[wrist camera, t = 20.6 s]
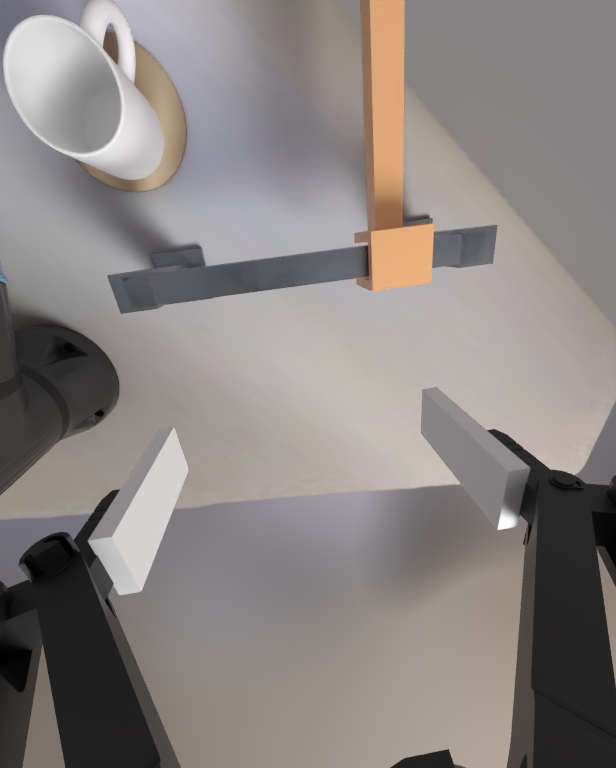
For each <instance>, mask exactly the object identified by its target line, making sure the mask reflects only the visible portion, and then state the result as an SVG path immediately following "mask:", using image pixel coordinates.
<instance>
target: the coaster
mask: <svg viewBox="0 0 616 768" xmlns="http://www.w3.org/2000/svg"><path fill="white" fill-rule="evenodd" d="M134 47H135V56H136V69H135V79H134V85H135V86H136V88H137V89H138V90H139V91H140V92H141V93H142V94H143V96H144V97H145V98H146V99H147V101H148V102H149V103H150V105H151V106H152V108H153V109H154V111H155V113H156V115H157V117H158V119H159V121H160V124H161V127H162V130H163V136H164V151H163V156H162V159H161V162H160V164H159V165H158V167H157V168H156V170H155V171H154V172H153V173H151V174H150V175H149V176H147V177H145V178H142V179H137V180H127V179H122V178H118V177H115V176H113V175H110V174H108V173H106V172H104V171H101V170H99V169H97V168H95V167H93V166H90V165H88V164H86V163H84V162H81V161H79V160H77V159H76V161H77V162H78V163H79V164H80V165H81V166H82V167H83V168H84V169H85V170H86V171H87V172H89V173H90V174H91V175H92V176H94V177H95V178H97V179H98V180H100V181H101V182H103V183H105V184H107V185H109V186H112V187H115V188H117V189H120V190H124V191H130V192H144V191H149V190H152V189H155V188H158V187H159V186H161V185H163V184H164V183H166V182H167V181H168V180H169V179H170V178H171V177H172V176H173V175H174V174H175V172H176V171H177V169H178V168H179V166H180V163H181V161H182V159H183V155H184V152H185V147H186V137H187V130H186V120H185V114H184V110H183V107H182V103H181V101H180V98H179V95H178V93H177V91H176V89H175V87H174V85H173V83H172V81H171V80H170V78H169V77H168V75H167V73H166V72H165V70H164V69H163V68H162V67H161V65H160V64H159V63H158V62H157V61H156V60H155V59H154V58H153V56H152V55H151V54H149V53H148V52H147V51H146V50H145V49H143V48H142V47H141V46H139V45H138V44H136V43H135V42H134ZM103 49H104V50H105V52H106V53H107V54H108V55H109V56H110V57H111V58H112V59H113V61H114V62H115V63H116V64H117V65H118V56H119V53H118V42H117V37H116V34H113V33H107V32H105V36H104V42H103Z"/></svg>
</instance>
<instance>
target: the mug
mask: <svg viewBox="0 0 616 768" xmlns="http://www.w3.org/2000/svg"><path fill="white" fill-rule="evenodd" d="M109 23H111V24H112V26H113V28H114V30H115V33H116V37H117V42H118V53H119V56H118V65H117V64H116V63H115V62H114V61H113V59H112V58H111V57H110V56H109V55H108V54H107V53H106V52H105V50H104V49H103V42H104V36H105V32H106V28H107V26H108V25H109ZM135 69H136V56H135V47H134V41H133V37H132V33H131V30H130V26H129V24H128V21H127V19H126V17H125V15H124V14H123V12H122V11H121V9H120V8H119V7H118V5H117V4H116V3H114V2H113V1H112V0H90V1H89V2H88V3H87V5H86V7H85V9H84V11H83V14H82V17H81V20H80V24H79V26H78V25H77V24H75V23H73V22H71V21H69V20H67V19H64V18H61V17H58V16H53V15H44V14H41V15H34V16H31V17H28V18H26V19H24V20H23V21H21V22H20V23H18V24H17V25H16V26H15V27H14V29H13V30H12V31H11V32H10V34H9V36H8V38H7V40H6V44H5V47H4V52H3V75H4V80H5V85H6V88H7V91H8V94H9V96H10V99H11V101H12V103H13V105H14V107H15V109H16V111H17V113H18V114H19V116H20V117H21V119H22V120H23V121H24V123H25V124H26V125H27V126H28V128H29V129H30V130H31V131H32V132H33V133H34V134H35V135H36V136H37V137H38V138H39V139H41V140H42V141H43V142H44V143H46V144H47V145H48V146H50V147H52V148H53V149H55V150H57V151H59V152H61V153H64V154H66V155H68V156H70V157H72V158H75V159H77V160H79V161H81V162H84V163H86V164H88V165H90V166H93V167H95V168H97V169H99V170H101V171H104V172H106V173H108V174H110V175H113V176H115V177H118V178H122V179H127V180H137V179H142V178H145V177H147V176H149V175H150V174H151V173H153V172H154V171H155V170H156V168H157V167H158V165H159V164H160V162H161V159H162V156H163V151H164V136H163V130H162V127H161V124H160V121H159V119H158V117H157V115H156V113H155V111H154V109H153V108H152V106H151V105H150V103H149V102H148V101H147V99H146V98H145V97H144V96H143V94H142V93H141V92H140V91H139V90H138V89H137V88H136V86H135V85H134V79H135Z"/></svg>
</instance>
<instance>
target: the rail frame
mask: <svg viewBox="0 0 616 768" xmlns="http://www.w3.org/2000/svg"><path fill="white" fill-rule="evenodd" d="M432 221H433V218H431V219H423V220H416V221H408V222H403V226H409V225H417V224H424V223H431V224H432ZM496 232H497V225H492V226H483V227H473V228H464V229H454V230H445V231H435V232H434V237H433V259H432V268H435V267H442V266H447V267H456V268H462V267H469V266H477V265H484V264H492V263H493V257H494V249H495V241H496ZM151 257H152V260H153V263H154V267H155V268H151V269H145V270H139V271H133V272H127V273H120V274H114V275H108V276H107V277H108V279H109V282H110V285H111V288H112V290H113V293H114V296H115V299H116V301H117V304H118V307H119V309H120V312H121V314H122V313H129V312H136V311H144V310H151V309H158V308H160V307H162V306H164V305H166V304H174V303H181V302H189V301H196V300H204V299H211V298H213V297H220V296H227V295H234V294H242V293H249V292H257V291H264V290H272V289H279V288H286V287H294V286H301V285H309V284H316V283H324V282H331V281H338V280H346V279H353V278H361V277H368V276H369V261H368V245H365V246H358V247H350V248H342V249H335V250H327V251H319V252H312V253H304V254H296V255H289V256H281V257H273V258H266V259H258V260H250V261H243V262H235V263H227V264H220V265H212V266H206V264H205V260H204V256H203V251H202V248H196V249H189V250H181V251H173V252H165V253H157V254H151Z"/></svg>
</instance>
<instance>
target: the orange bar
mask: <svg viewBox="0 0 616 768" xmlns="http://www.w3.org/2000/svg"><path fill="white" fill-rule="evenodd" d="M360 12H361V42H362V71H363V101H364V130H365V160H366V189H367V218H368V231H364V232H359V233H354V238H355V243H359V242H368V261H369V276H368V277H361V278H357V285H359V286H361V287H363V288H366V289H368V290H370V291H374V290H382V289H389V288H396V287H404V286H411V285H418V284H426V283H431V282H432V259H433V237H434V224H431V223H424V224H417V225H409V226H403V127H404V0H360Z"/></svg>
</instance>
